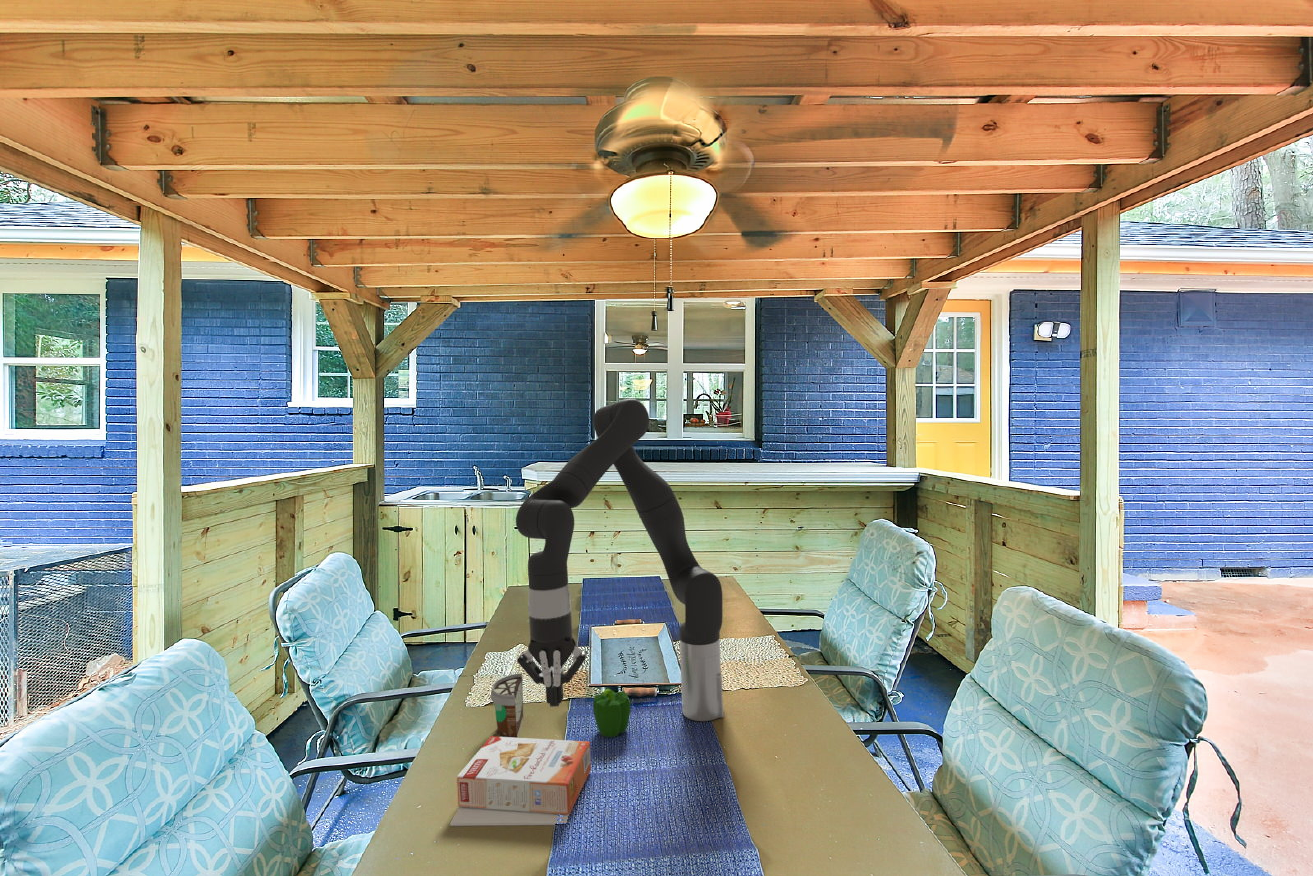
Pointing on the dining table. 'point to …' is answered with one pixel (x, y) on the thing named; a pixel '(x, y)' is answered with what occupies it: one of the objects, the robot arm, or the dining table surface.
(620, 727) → the bell pepper
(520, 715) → the food container
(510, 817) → the off-white mat
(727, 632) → the dining table surface
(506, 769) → the cracker box
